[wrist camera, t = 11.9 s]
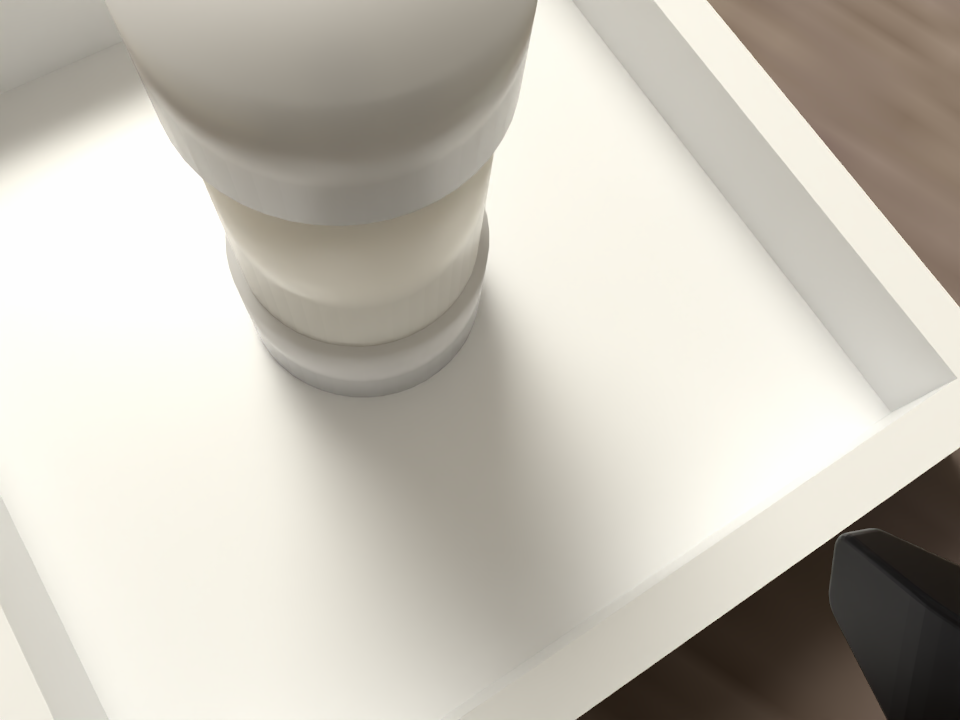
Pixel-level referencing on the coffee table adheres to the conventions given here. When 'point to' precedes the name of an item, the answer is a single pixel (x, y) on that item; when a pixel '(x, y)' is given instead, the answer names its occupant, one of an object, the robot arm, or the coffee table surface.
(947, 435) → the parts tray
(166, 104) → the white light bulb
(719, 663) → the coffee table surface
